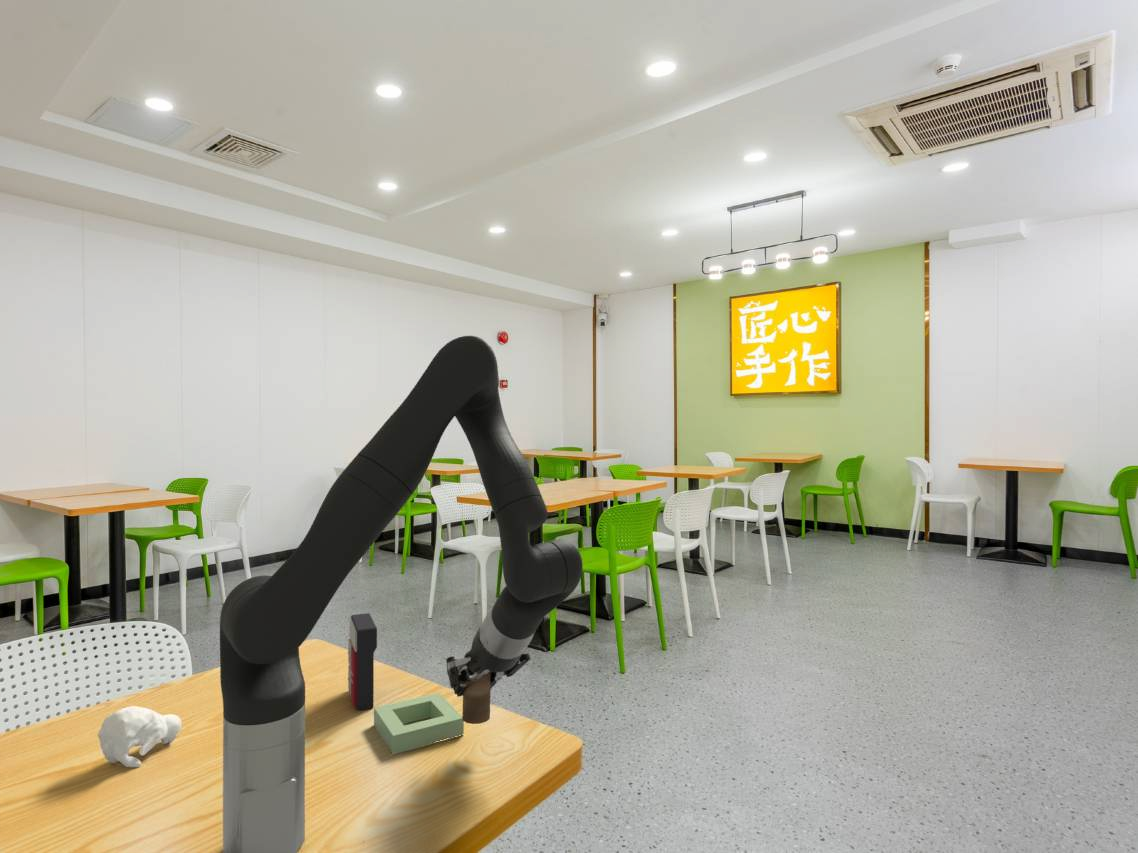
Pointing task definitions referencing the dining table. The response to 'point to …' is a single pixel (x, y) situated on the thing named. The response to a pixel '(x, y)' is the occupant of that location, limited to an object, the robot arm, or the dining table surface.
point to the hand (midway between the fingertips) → (472, 687)
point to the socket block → (420, 733)
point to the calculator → (361, 660)
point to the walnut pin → (477, 700)
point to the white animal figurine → (135, 733)
